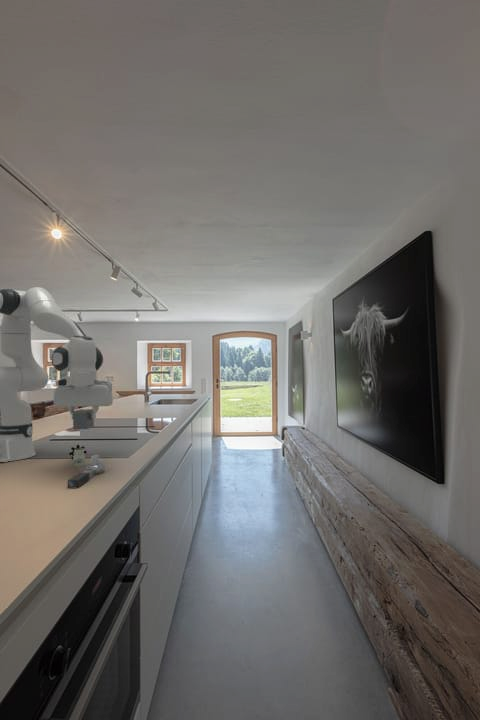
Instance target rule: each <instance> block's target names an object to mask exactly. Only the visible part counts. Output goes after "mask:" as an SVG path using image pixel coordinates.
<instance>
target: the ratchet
mask: <svg viewBox="0 0 480 720" xmlns="http://www.w3.org/2000/svg"><path fill="white" fill-rule="evenodd" d="M105 466H106V465H105V463H104V462H100V454H93V455H91V456H90V463H86V464H85V470H84V471H82V472H78V473H77V474H75V475H73V476H72V477H71V478H68V480H67V489H79V488H81V487H82V486H84V484H86V483H88V482H89V481H90V479H92V478H93V477H95V476H96V475H101V474H103V473H105V470H106V469H105Z"/></svg>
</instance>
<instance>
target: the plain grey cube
mask: <svg viewBox="0 0 480 720" xmlns="http://www.w3.org/2000/svg"><path fill="white" fill-rule="evenodd" d="M93 411H94V410H93V409H92V408H91V409H90V408H87V409H86V408H84V409H81V408H80V409H74V411H73V420H72V425H73V426H72V429H73V430H89V429H91V428H94V426H95V425H94V423H95V422H94V421H95V419H90V416H89V414H92V413H93Z"/></svg>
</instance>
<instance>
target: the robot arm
mask: <svg viewBox="0 0 480 720" xmlns="http://www.w3.org/2000/svg"><path fill="white" fill-rule="evenodd" d="M0 314H2V319H1V325H0V351H1V353H2V355H4V356H5V357H6V358H9V359H11V360H12V361H13V362H14V365H15V366H0V462H4V463H8V461H9V462H12V461H20V460H25V459H29V458H32V457H34V456H36V451H35V446H34V443H33V430H34V429H33V423H32V406H31V405H30V403H29V402H27V401H25V400H23V399H20V398H19V396H18V392H35V391H38V390H42V389H45V388H46V386H47V385H48V384H49V379H50V378H49V374H48V372H47V370H46V369H45V368H43V367H42V366H41V365H40V364H39V363H38V362H37V361H36V358H35V356H34V355H33V351H32V350H33V349H32V330H31V323H33V325H34V326H36V327H37V328H38V329H39V330H41V331H43V332H47V333H52V334H55V335H58V336H59V335H60V336H62V337H64V338H65V339H68V340H69V341H68V342H66V343H65V344H64V345H62V346H58V347H56V348H55V349H54V350H53V352H52V354H51V364H52V366H53V368H54V369H55V370H57V371H58V372H62V373H63V372H65V373H69V376H66V377H62V378H60V379H57V380H56V381H55V383H54V384H55V386H56V387H55V389H54V392H53V405H54V407H56V408H67V409H68V412H69V413H70V415H71V420H72V421H73V411H75V410H76V408H79V407H80V408H81V407H83V408H85V407H91V409H93V410H94V411H93V413H92V414H89V416H90V419H94V420H95V419H96V418H97V417H96V416H97V415H96V414H97V413H98V411H99V409H100V408H99V407H109V406H112V405H113V403H114V402H113V401H114V400H113V399H114V398H113V392H112V390H113V384H112V382H111V381H110V380H109V381H108V380H106V379H105V380H97V377H98V376H97V371H98V370H100V368H101V367H102V366H103V363H104V357H103V353H102V351H101V350H100V349H99V348H98V347H97V346H96V342H95V340H94V338H93V337H90V336H87V335H86V334H85V333H84V331H83V330H82V328H80V326H79V325H78V324H77V323H76V322H75V320H73V319H71V318H70V317H69V316H68V315H67V314H65V312H64V311H63V310H62V309H61V308H60V307H59V304H58V303H57V301H56V299H55V298H54V296H52V294H51V293H50V292H49V291H48V290H47V289H45V288H43V287H39V286H35V287H31V288H29V289H28V290H18V289H12V288H4V289H3V288H2V289H0Z"/></svg>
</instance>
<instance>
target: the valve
mask: <svg viewBox="0 0 480 720" xmlns="http://www.w3.org/2000/svg"><path fill="white" fill-rule="evenodd" d="M70 449H71V451H69V452H68V455H69V456H71V455H72V456H71V457H70V458H71V461H73V464H74V465H73V466H74V468H83V467H84V466H85V460H86V456H85V454H87V452H88V451H87V450H85V446H84V445H82V446H81V447H80V444H76V447H74V446H72V447H71V448H70Z"/></svg>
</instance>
